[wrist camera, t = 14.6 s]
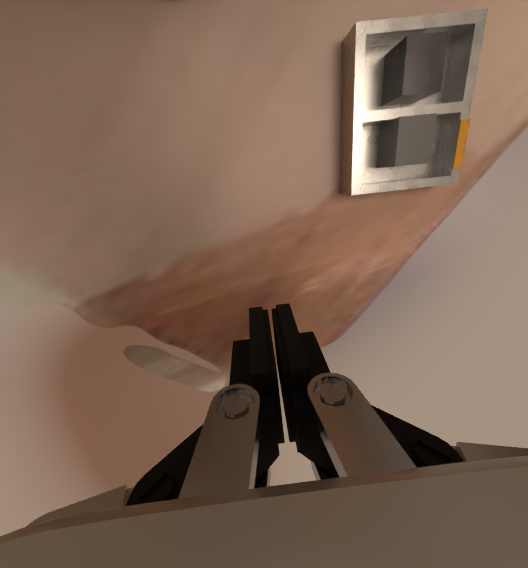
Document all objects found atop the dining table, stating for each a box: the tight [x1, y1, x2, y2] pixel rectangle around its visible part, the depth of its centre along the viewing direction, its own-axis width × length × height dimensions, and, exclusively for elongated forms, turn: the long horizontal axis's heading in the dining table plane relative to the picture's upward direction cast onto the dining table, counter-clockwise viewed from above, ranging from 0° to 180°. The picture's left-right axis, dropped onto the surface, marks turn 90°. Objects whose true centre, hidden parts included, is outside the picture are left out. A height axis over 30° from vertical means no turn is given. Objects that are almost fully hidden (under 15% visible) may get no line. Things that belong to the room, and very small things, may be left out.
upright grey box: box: [377, 113, 437, 168], centre depth 30 cm, size 5×4×4 cm
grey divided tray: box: [340, 9, 488, 195], centre depth 30 cm, size 16×13×5 cm
